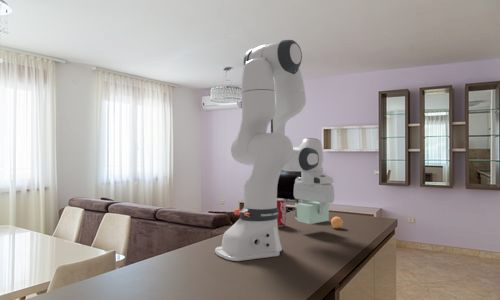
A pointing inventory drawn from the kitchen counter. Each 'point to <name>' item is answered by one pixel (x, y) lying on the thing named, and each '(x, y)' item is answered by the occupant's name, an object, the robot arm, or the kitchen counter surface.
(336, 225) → the orange sphere
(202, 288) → the kitchen counter surface
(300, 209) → the mint green block
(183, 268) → the kitchen counter surface
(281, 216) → the soda can
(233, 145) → the robot arm
